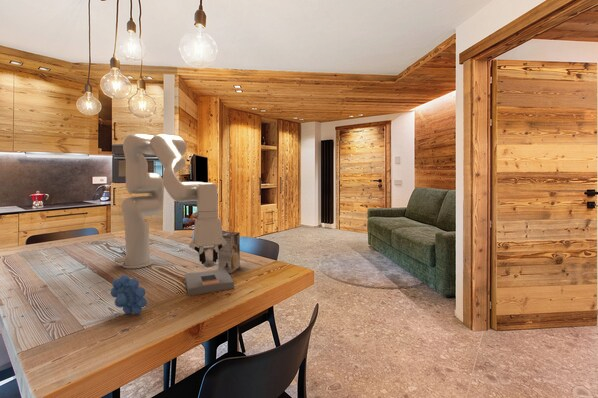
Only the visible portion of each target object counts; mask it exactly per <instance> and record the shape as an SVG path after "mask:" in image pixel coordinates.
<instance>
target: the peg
mask: <svg viewBox="0 0 598 398" xmlns="http://www.w3.org/2000/svg"><path fill="white" fill-rule="evenodd" d="M203 254H204V264H202V266H203V267H204V268H211V267H214V266H215V262H214V245H212V246H203Z"/></svg>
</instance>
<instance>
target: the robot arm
mask: <svg viewBox="0 0 598 398" xmlns="http://www.w3.org/2000/svg"><path fill="white" fill-rule="evenodd" d="M122 147H123V154H124V158H125V188H126V190H127V192H128V193H130V194H135V196H130V197H126V198H124V199H123V200H122V201H121V206H120V207H121V213H122V216H123V221H124V233H125V234H124V237H125V256H123V257H115V258H114V263H117V264H118V263H119V264H121V263H122V268H124V269H129V270H130V269H141V268H146V267H149V266H152V265H153V264H154V261H155V260H154V259H153V258H151V256H150V255H151V254H150V253H151V252H150V228H149V224H148V222H147V221H146V220H145V217H149V216H150V217H151V216H156V215H159V214H160V213H162V211H163V209H164V197H165V196H164V194H165V193H164V192H165V190H166V192H167V193H168V195H169V196H170V198H172V200H173V201H175V202H178V203H186V202H196V212H193V213H192V214H193V215H192V216H193V217H195V220H194V227H193V238H192V240H191V241H190V242H189V244H188V246H189V248H190V249H192V250H195V251H196V252H197V253H198V257H199V263H200V262H201V265H203V264H204V254H203V247H206V246H213V247H214V264H215V263H218V262H217V261H218V252H219V250H220V249H221V248H222V247H223V246H224V245H225V244H227V242H226V240H225V239H224V237H223V235H222V234H223V226H222V220H221V218H220V217H219V205H218V204H219V200H218V199H219V198H218V192H219V191H218V185H217V183H216V182H204V181H181V180H180V179H179V178H178V177H177V175H176V174H177V173H178V172H180V171H181V170H183V168H184V167H185V166H186V159H185V158H184V156H183V155H185V154H186V152H187V143H186V142H185V140H184V139H183V138H182V137H180V136H179V135H171V134H170V135H169V134H164V133H160V134H159V133H158V134H155V135H151V134H146V133H130V134H128V135H127V136H126V137H125V138H124V139H123V144H122ZM144 155H150V156H153V155H154V156H156V158H157V159H158V161H159V162H160V164H161V165H162V167H163V168H164V170H163V174H162V176H161V175H160V174H159V173H157V172H148V171H149V170H148V168H149V164H148V161H147V159H146V156H144ZM136 194H140V195H136ZM141 194H148V195H141Z"/></svg>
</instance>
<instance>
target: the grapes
mask: <svg viewBox="0 0 598 398" xmlns="http://www.w3.org/2000/svg"><path fill="white" fill-rule="evenodd" d="M111 285H112V289H111V290H110V296H111V297H113V298H115V299H114V305H115V306H116V307H117V308H121V309H122V311H123V312H124V313H125V314H127V315H130V314H132V313H133V314H135V315H138V314H140V313H142V310H143V308H145V307H146V306H147V303H148V301H147V299H146V298H145V296H146V290H145V288H144V287H143V286H139V285H140V282H139V280H138V279H137V278H133V277H132V278H130V277H129V276H128V275H126V274H123V275H121V276H120V277H119V278H114V279H113V280H112V284H111Z"/></svg>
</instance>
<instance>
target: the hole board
mask: <svg viewBox="0 0 598 398" xmlns="http://www.w3.org/2000/svg"><path fill="white" fill-rule="evenodd" d="M184 282H185V286H186V290H187V294H188V296H196V295H200V294H207V293H213V292H219V291H226V290H227V291H228V290H231V289H232V290H234V289H235V281H234V279H233V277H232V276H231V275H230V274H229V273H228V272H227V270H226V269H220V270H219V269H214V270H213V269H212V270H205V271H197V272H191V273H185V274H184Z"/></svg>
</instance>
